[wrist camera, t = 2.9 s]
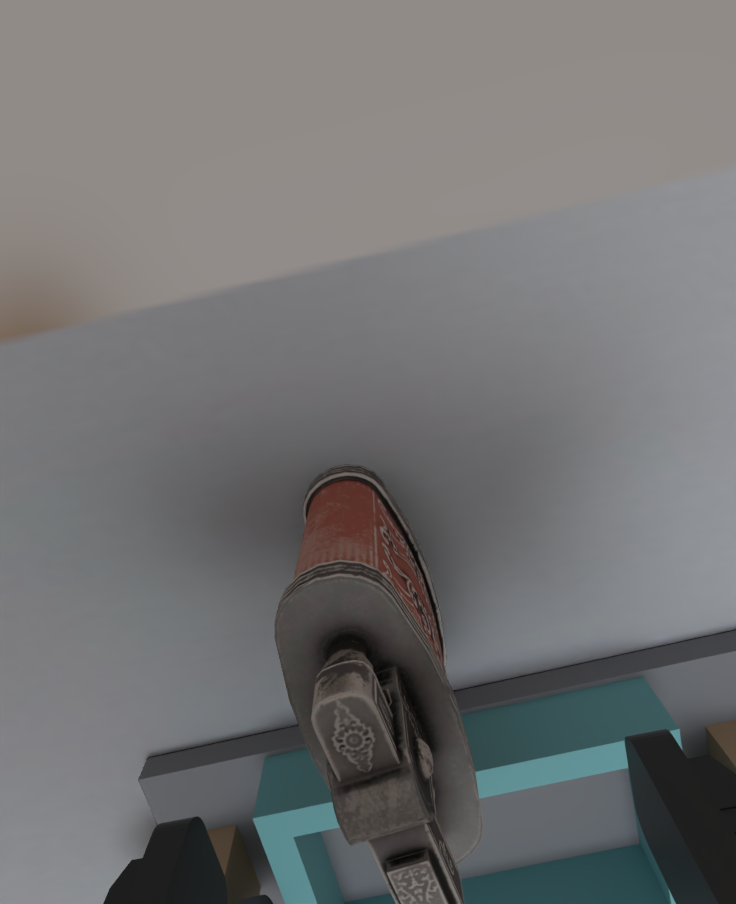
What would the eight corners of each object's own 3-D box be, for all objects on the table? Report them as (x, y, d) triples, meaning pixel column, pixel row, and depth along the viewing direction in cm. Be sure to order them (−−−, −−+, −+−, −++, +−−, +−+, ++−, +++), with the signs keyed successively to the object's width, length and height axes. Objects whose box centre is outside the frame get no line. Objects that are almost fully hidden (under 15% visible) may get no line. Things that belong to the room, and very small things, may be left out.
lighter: (282, 485, 20) (210, 685, 11) (383, 449, 20) (404, 621, 10) (370, 689, 22) (377, 1010, 13) (463, 660, 22) (541, 965, 12)
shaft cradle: (190, 933, 25) (130, 1164, 19) (115, 765, 23) (18, 962, 17) (810, 809, 24) (979, 1014, 17) (798, 616, 22) (986, 769, 15)
